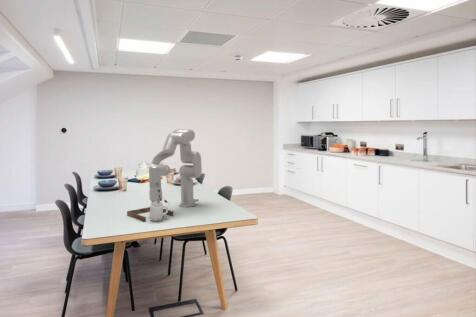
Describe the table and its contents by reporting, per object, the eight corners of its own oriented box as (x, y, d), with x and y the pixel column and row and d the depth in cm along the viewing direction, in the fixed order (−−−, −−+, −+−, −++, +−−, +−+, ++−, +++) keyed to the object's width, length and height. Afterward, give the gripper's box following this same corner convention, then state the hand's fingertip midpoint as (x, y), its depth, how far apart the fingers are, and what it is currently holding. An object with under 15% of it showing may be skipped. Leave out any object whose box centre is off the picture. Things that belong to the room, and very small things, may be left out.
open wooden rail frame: (155, 210, 270) (155, 206, 270) (173, 215, 252) (173, 211, 252) (127, 215, 255) (127, 211, 255) (144, 222, 237) (144, 217, 237)
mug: (166, 213, 249) (167, 200, 245) (169, 219, 242) (170, 206, 239) (148, 215, 244) (149, 201, 240) (151, 222, 237) (151, 208, 233)
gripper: (165, 184, 242) (166, 212, 243) (154, 182, 253) (155, 208, 254) (155, 186, 237) (156, 213, 238) (144, 183, 248) (145, 210, 249)
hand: (155, 211), depth 246 cm, fingers closed
